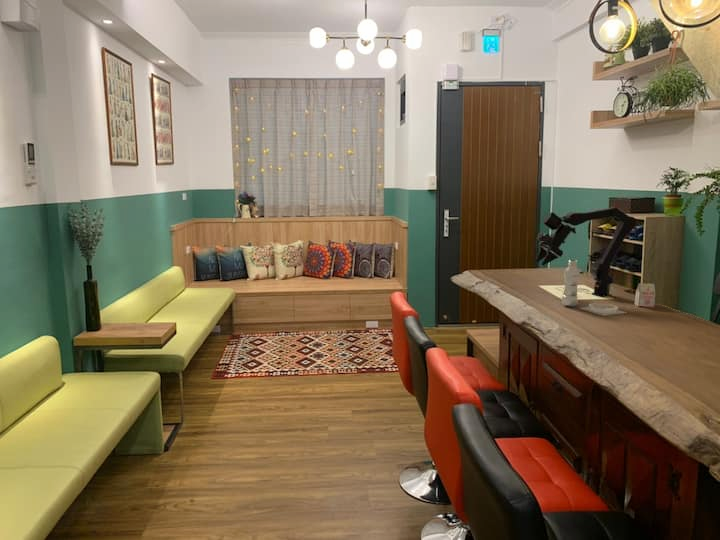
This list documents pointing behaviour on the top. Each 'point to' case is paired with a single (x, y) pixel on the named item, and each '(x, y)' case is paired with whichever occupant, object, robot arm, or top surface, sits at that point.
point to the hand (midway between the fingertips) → (539, 263)
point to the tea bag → (645, 295)
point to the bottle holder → (603, 309)
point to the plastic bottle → (571, 284)
